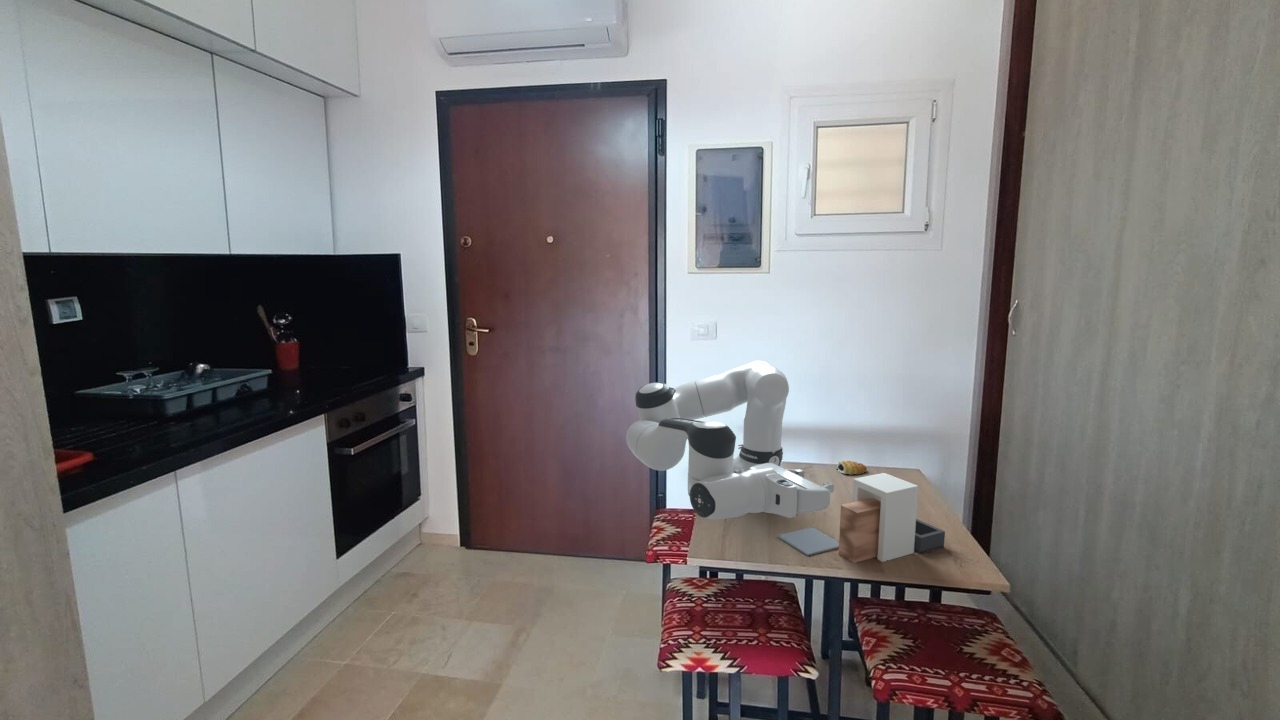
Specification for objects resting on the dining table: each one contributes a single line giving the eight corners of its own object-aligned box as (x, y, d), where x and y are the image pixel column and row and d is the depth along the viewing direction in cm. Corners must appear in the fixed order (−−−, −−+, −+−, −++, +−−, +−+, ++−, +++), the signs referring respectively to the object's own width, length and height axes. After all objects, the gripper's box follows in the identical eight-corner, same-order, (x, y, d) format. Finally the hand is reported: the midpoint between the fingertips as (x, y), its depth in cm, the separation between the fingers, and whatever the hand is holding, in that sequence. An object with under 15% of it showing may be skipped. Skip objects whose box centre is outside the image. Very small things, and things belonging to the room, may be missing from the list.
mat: (777, 537, 148) (777, 535, 148) (812, 529, 153) (812, 527, 153) (807, 556, 138) (807, 554, 138) (843, 546, 143) (843, 544, 143)
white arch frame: (849, 543, 144) (853, 478, 142) (880, 536, 148) (884, 472, 146) (882, 561, 135) (886, 492, 133) (913, 553, 140) (918, 485, 137)
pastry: (859, 468, 200) (860, 457, 200) (871, 474, 194) (872, 463, 193) (834, 470, 198) (834, 459, 198) (845, 477, 192) (845, 465, 191)
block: (838, 553, 140) (840, 504, 138) (870, 545, 144) (872, 497, 142) (854, 562, 135) (857, 512, 133) (886, 553, 139) (889, 505, 137)
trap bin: (879, 533, 150) (880, 518, 149) (902, 527, 153) (903, 513, 153) (920, 554, 139) (921, 537, 138) (943, 547, 142) (945, 531, 142)
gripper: (736, 487, 135) (785, 478, 140) (795, 521, 116) (849, 510, 122) (737, 460, 134) (787, 453, 139) (796, 490, 115) (851, 480, 121)
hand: (816, 480), depth 130 cm, fingers open, 8 cm apart
